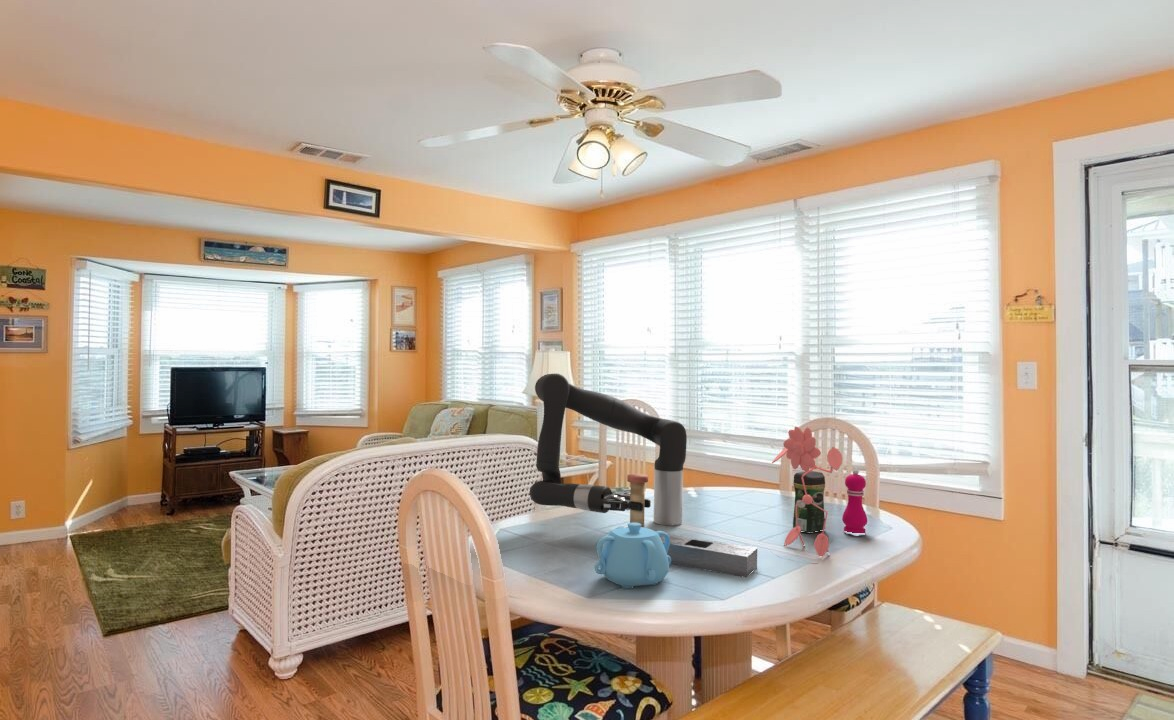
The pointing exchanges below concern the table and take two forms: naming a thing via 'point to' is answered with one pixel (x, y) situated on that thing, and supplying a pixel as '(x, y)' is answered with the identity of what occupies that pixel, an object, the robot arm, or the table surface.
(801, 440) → the figurine
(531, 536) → the table surface
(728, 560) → the bar
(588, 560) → the table surface
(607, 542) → the decorative pot
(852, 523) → the pepper mill
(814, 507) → the coffee jar
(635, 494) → the oak pin
